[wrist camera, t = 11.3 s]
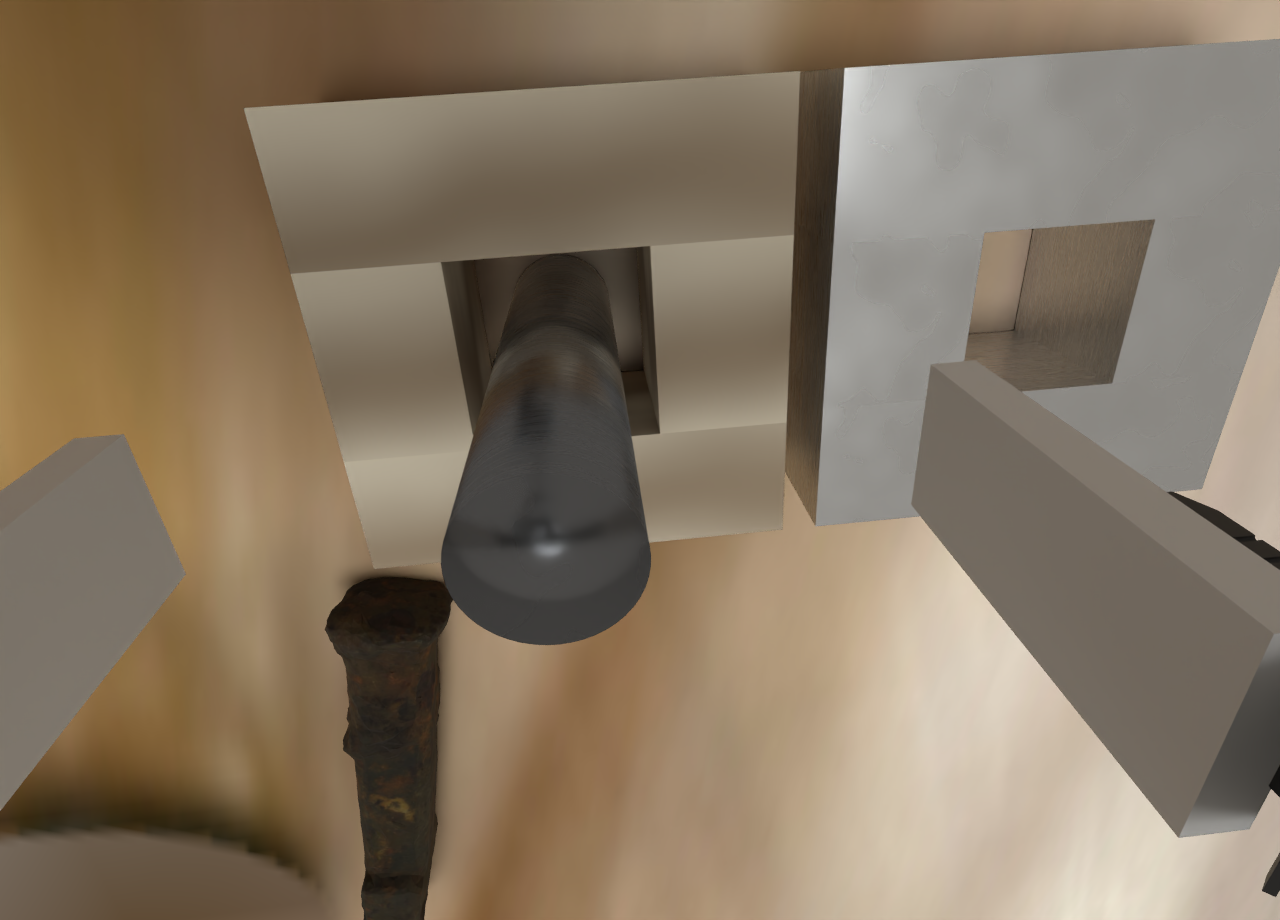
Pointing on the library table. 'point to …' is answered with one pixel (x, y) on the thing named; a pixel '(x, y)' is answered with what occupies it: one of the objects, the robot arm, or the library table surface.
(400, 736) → the hand tool
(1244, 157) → the socket block
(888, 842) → the library table surface
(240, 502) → the library table surface
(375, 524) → the beige block with hole
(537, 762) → the library table surface
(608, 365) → the dark grey rounded rod
